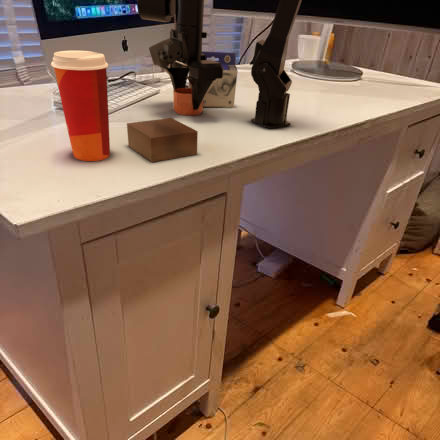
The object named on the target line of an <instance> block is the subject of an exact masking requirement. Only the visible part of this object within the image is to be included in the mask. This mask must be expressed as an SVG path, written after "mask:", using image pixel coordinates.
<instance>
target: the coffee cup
mask: <svg viewBox="0 0 440 440" xmlns="http://www.w3.org/2000/svg"><path fill="white" fill-rule="evenodd" d="M50 65H51V67H52V68H53V69H54V74H55V79H56V83H57V89H58V93H59V96H60V97H59V98H60V102H61V106H62V110H63V115H64V119H65V124H66V129H67V132H68V134H67V135H68V138H69V143H70V147H71V151H72V155H73V157H74V158H75V159H77V160H79V161H84V162H97V161H103V160H105V159H107V158H109V157H110V156H111V155H110V154H111V147H110V146H111V144H110V143H111V141H110V140H111V139H110V121H109V120H110V118H109V117H110V116H109V95H108V75H107V73H108V72H107V68H108V67H109V63H108V62H107V61H106V57H105V54H103V53H100V52H96V51H91V50H74V49H73V50H60V51H55V52H53V57H52V61H51V63H50Z"/></svg>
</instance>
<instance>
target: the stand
mask: <svg viewBox="0 0 440 440" xmlns="http://www.w3.org/2000/svg"><path fill="white" fill-rule="evenodd" d="M126 131H127V143H128V145H127V146H128V147H129V148H130V149H132V150H133V151H135V152H136V153H137V154H139V155H141V156H142V157H144V158H145V159H146V160H148V161H149V162H151V163H155V162H162V161H167V160H172V159H178V158H183V157H189V156H195V155H198V136H199V135H198V133H199V131H198V130H196V129H194V128H192V127H191V126H188V125H186V124H185V123H182V122H180V121H179V120H176V119H174V118H172V117H167V118H159V119H151V120H141V121H134V122H127V123H126Z"/></svg>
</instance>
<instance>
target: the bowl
mask: <svg viewBox="0 0 440 440" xmlns="http://www.w3.org/2000/svg"><path fill="white" fill-rule="evenodd" d="M172 94H173V95H172V99H173V100H172V103H173V106H172V107H173V111H174V112H175V113H176V114H178V115H182V116H198V115H200V114H201V113H202V112H203V111H204V107H203V100H202V102H201V104H200V106H199V108H198V109H197V110H193V105H192V88H189V87H185V88H176V89H173V90H172Z"/></svg>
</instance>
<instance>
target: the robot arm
mask: <svg viewBox="0 0 440 440" xmlns="http://www.w3.org/2000/svg"><path fill="white" fill-rule="evenodd" d="M302 1H303V0H279V2H278V5H277V9H276V10H275V11H276V12H275V15H274V18H273V21H272V23H271V27H270V30H269V33H268V35H267V36H266V39H265V40H264V39H263V38H262V39H261V40H259V41H257V42H255V47H254V53H253V57H252V59H251V61H250V62H249V65H251V70H250V75H251V78H252V80H253V82H254V83H255V84H256V85H257V88H258V96H257V101H256V104H255V113H254V117H253V118H251V119H250V122H252V123H253V124H257V125H259V126H262V127H263V128H266V129H276V128H283V127H288V126H289V127H290V126H291V122H289V121H287V117H288V111H289V110H288V109H289V104H290V96H291V94H290V93H288V91H289V90H290V88H291V86H292V84H293V80H292V79H291V77H290V75H288V73H287V72H286V70H285V67H286V66H285V65H286V61H287V55H288V47H289V39H290V37H291V36H290V35H291V32H292V30H293V27H294V24H295V22H296V18H297V16H298V12H299V10H300V7H301V3H302ZM136 6H137V13H138V15H139V17H140V18H141V19H142V20H147V21H153V22H154V21H155V22H162V23H169V22H170V21H172V20H171V19H172V18H174V27H175V28H171V29H170V31H169V38H167V39H164V40H163V39H162V41H159V42H157V43H155V44H153V45H151V46H149V47H148V51H149V54H150V57H151V60H152V64H153V65H154V66H159V68H161V69H162V70H164V71H165V72H166V73H167V74H168V76H169V78H170V81H171V85H172V89H173V90H174V89H176V88H186V85H187V81H188V83H189V82H190V83H191V87H192V105H193V110H197V109H198V108H199V106H200V104H201V102H202V100H203V98H204V96H205V94H206V92H207V90H208V89H209V87H210V85H211V84H212V82H213V81H215V80H216V79H220V78H223V66H222V65H221V63H219V62H216V61H217V60H212V59H207V60H206V55H204V54H202V51H203V39H207V37H208V32H206V31H204V13H205V12H204V10H205V0H136ZM189 72H190V74H191V76H189Z"/></svg>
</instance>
